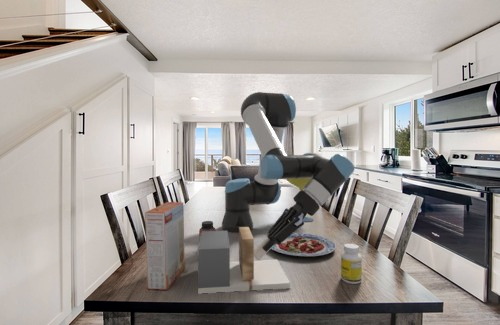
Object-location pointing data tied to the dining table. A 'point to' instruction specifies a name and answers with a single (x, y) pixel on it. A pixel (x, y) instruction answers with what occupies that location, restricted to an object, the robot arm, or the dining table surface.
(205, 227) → the supplement bottle
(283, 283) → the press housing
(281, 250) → the ceramic plate
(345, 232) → the dining table surface
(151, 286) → the cracker box
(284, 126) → the robot arm
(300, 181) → the cocktail glass
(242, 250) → the plate
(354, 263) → the supplement bottle
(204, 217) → the dining table surface
